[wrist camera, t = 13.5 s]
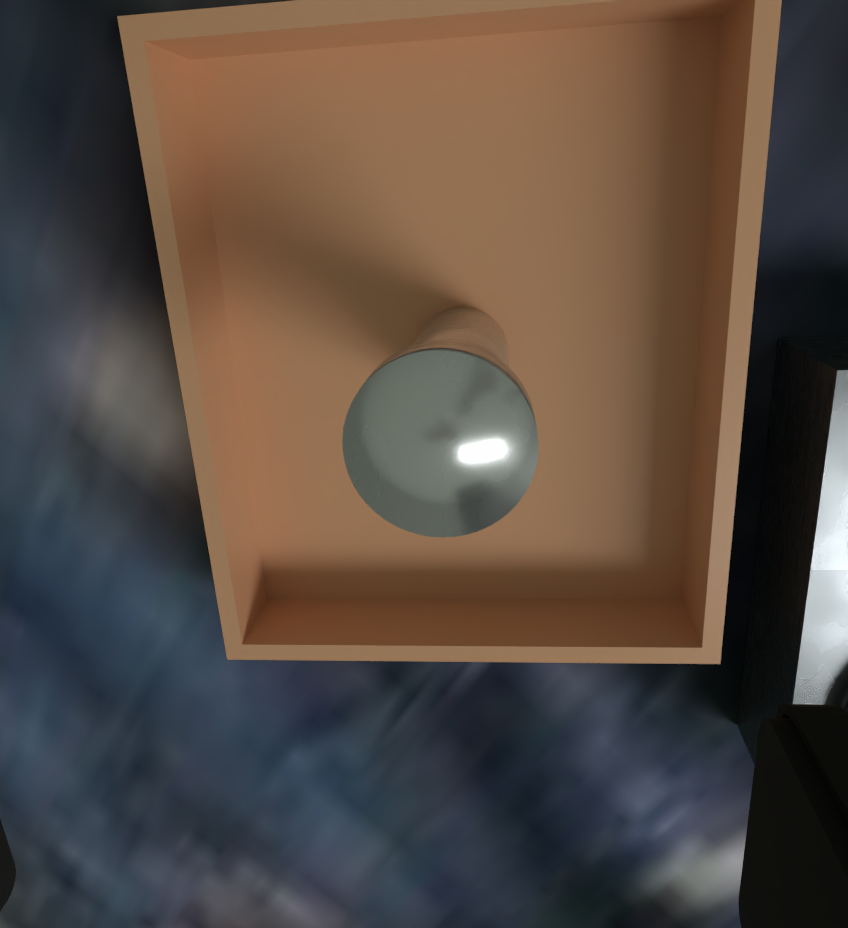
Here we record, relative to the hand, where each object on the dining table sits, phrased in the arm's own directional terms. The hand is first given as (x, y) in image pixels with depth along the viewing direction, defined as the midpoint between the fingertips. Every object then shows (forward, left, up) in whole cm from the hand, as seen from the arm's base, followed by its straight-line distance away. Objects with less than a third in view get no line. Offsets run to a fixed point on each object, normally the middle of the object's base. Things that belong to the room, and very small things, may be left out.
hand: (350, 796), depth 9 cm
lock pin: (0, 0, -25) cm, 25 cm away
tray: (0, 0, -26) cm, 26 cm away
